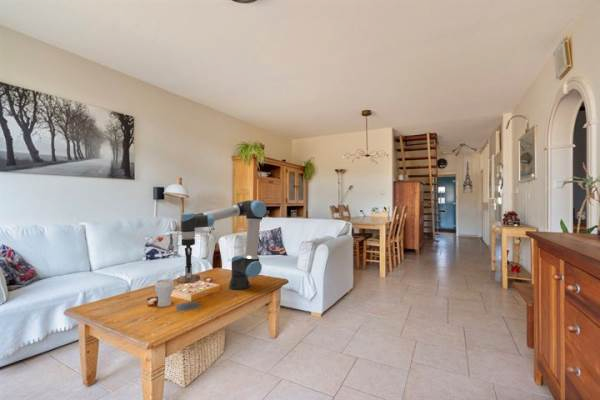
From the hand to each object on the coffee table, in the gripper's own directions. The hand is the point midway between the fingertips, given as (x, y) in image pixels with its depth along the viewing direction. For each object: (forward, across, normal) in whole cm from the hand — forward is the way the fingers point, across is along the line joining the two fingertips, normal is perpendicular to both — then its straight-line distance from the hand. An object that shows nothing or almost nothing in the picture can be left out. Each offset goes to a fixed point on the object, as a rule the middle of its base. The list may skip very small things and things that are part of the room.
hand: (188, 277), depth 170 cm
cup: (+18, -9, -14) cm, 24 cm away
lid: (+2, 0, 0) cm, 2 cm away
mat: (+18, 0, -1) cm, 18 cm away
